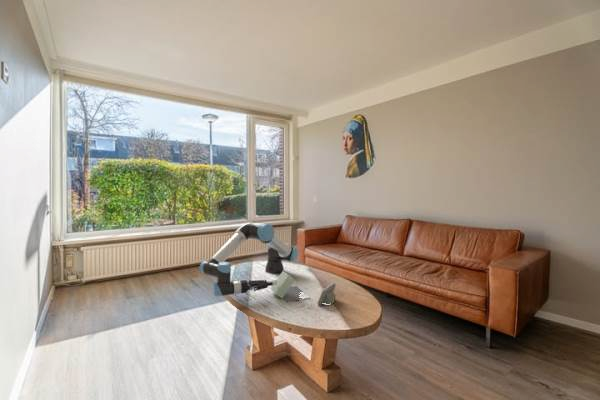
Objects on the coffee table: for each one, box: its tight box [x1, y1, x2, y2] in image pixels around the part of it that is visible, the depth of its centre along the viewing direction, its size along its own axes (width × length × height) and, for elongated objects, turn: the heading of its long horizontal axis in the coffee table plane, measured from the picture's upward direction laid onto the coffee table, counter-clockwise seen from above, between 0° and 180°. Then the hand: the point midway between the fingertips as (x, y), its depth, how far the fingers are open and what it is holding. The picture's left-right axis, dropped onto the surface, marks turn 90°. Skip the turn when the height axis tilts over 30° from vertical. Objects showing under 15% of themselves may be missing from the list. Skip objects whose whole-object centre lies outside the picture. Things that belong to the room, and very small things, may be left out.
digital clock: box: [317, 282, 336, 306], centre depth 177 cm, size 16×9×11 cm, turn 137°
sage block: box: [269, 271, 296, 299], centre depth 185 cm, size 6×10×14 cm
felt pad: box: [282, 285, 304, 303], centre depth 189 cm, size 16×22×1 cm
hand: (276, 282), depth 183 cm, fingers closed
